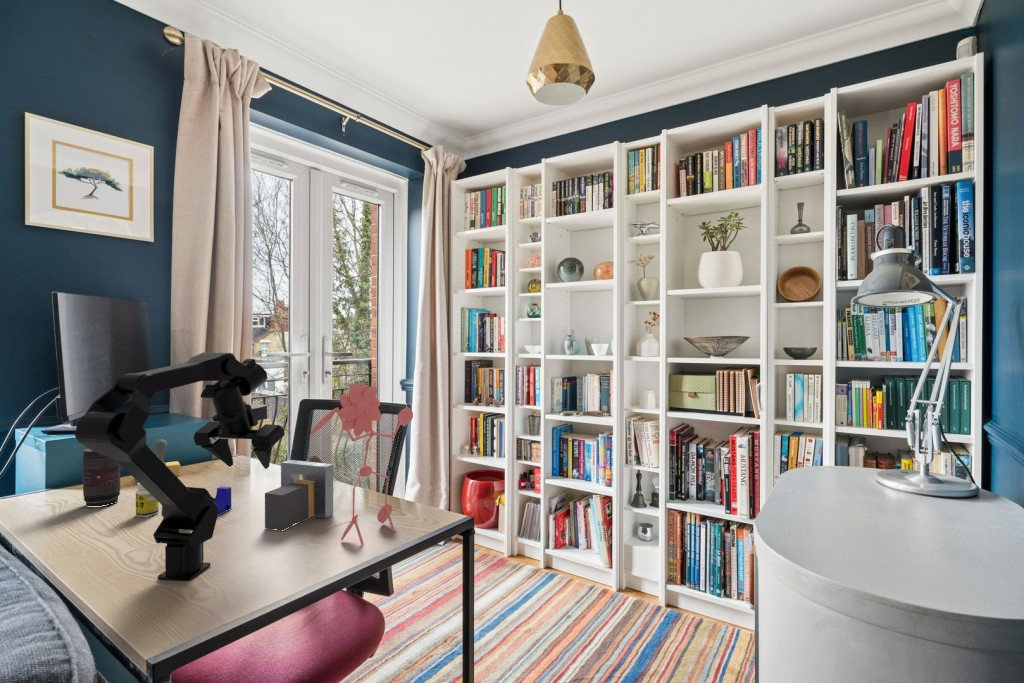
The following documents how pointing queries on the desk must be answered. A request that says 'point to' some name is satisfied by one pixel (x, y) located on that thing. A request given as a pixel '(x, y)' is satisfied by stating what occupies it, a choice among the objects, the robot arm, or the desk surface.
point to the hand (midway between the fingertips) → (249, 466)
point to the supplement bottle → (145, 503)
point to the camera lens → (100, 479)
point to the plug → (289, 504)
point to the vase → (312, 459)
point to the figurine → (359, 416)
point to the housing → (322, 482)
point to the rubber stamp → (160, 451)
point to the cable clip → (223, 499)
